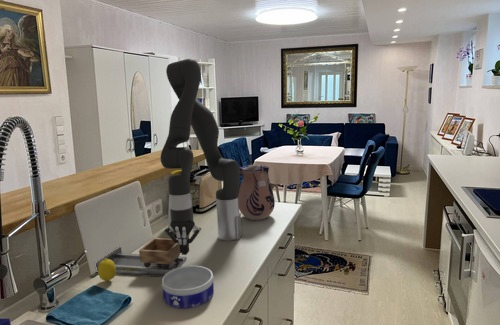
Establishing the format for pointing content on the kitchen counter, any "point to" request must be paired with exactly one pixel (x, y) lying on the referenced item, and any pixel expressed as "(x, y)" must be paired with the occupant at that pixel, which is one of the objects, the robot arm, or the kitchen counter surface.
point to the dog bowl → (187, 286)
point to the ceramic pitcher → (255, 192)
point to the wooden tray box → (159, 252)
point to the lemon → (106, 269)
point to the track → (139, 264)
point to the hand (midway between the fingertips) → (184, 253)
